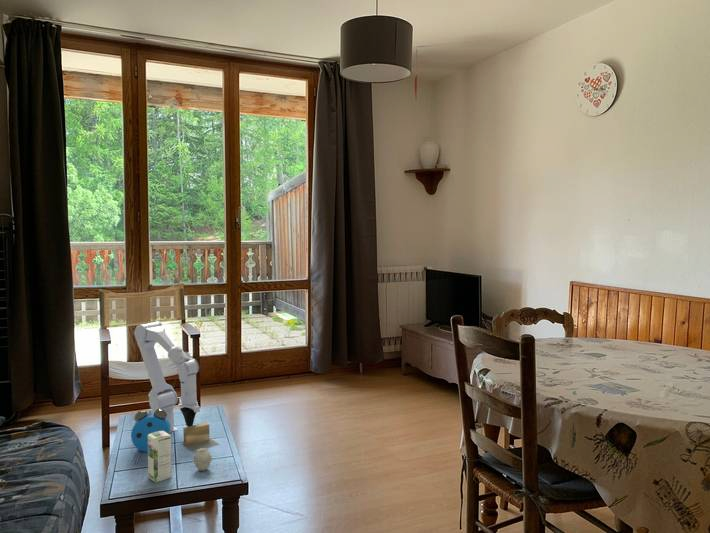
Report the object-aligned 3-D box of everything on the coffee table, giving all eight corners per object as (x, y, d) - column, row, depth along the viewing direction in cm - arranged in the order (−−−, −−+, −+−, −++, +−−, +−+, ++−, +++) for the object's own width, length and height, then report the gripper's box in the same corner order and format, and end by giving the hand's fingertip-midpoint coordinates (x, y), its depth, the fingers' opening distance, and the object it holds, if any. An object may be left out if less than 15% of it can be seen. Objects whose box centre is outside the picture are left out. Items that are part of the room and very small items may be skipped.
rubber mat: (180, 443, 203) (180, 442, 203) (205, 436, 209) (205, 435, 209) (193, 453, 194) (193, 452, 194) (219, 445, 201) (219, 444, 201)
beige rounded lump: (209, 463, 185) (208, 444, 185) (214, 471, 179) (214, 451, 179) (191, 467, 182) (190, 447, 182) (196, 475, 176) (195, 455, 176)
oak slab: (183, 443, 202) (183, 427, 201) (206, 437, 208) (205, 422, 207) (187, 445, 199) (186, 430, 199) (209, 439, 205) (209, 424, 205)
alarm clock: (171, 444, 201) (170, 405, 200) (169, 451, 195) (168, 411, 194) (134, 448, 199) (133, 408, 198) (131, 454, 193) (129, 414, 192)
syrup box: (147, 477, 175) (146, 434, 174) (165, 471, 179) (163, 429, 178) (155, 483, 171) (153, 439, 170) (172, 477, 175) (171, 434, 174)
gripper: (171, 389, 210) (172, 423, 211) (186, 398, 199) (187, 433, 200) (188, 385, 214) (189, 418, 215) (204, 394, 203) (205, 428, 204)
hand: (189, 425), depth 208 cm, fingers closed
